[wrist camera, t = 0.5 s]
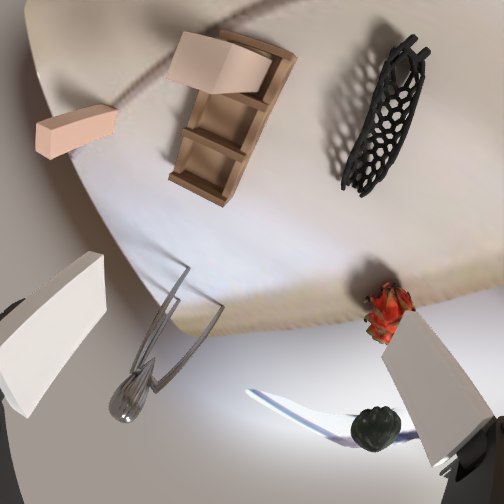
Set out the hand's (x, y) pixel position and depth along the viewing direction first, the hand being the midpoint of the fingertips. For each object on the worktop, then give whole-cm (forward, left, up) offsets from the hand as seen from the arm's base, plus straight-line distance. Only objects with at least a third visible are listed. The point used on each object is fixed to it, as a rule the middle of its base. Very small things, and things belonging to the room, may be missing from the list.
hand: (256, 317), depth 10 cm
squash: (+72, +3, -28) cm, 78 cm away
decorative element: (-3, +10, -29) cm, 30 cm away
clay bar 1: (-18, -30, -28) cm, 45 cm away
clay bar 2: (-13, -4, -27) cm, 30 cm away
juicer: (+20, -31, -28) cm, 46 cm away
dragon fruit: (+26, +6, -28) cm, 39 cm away
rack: (-8, -9, -28) cm, 30 cm away
